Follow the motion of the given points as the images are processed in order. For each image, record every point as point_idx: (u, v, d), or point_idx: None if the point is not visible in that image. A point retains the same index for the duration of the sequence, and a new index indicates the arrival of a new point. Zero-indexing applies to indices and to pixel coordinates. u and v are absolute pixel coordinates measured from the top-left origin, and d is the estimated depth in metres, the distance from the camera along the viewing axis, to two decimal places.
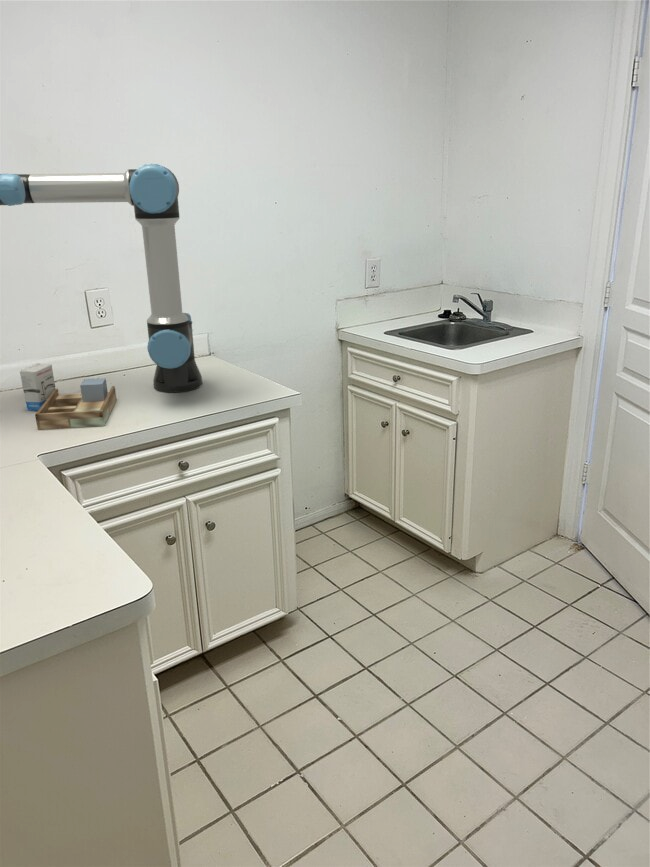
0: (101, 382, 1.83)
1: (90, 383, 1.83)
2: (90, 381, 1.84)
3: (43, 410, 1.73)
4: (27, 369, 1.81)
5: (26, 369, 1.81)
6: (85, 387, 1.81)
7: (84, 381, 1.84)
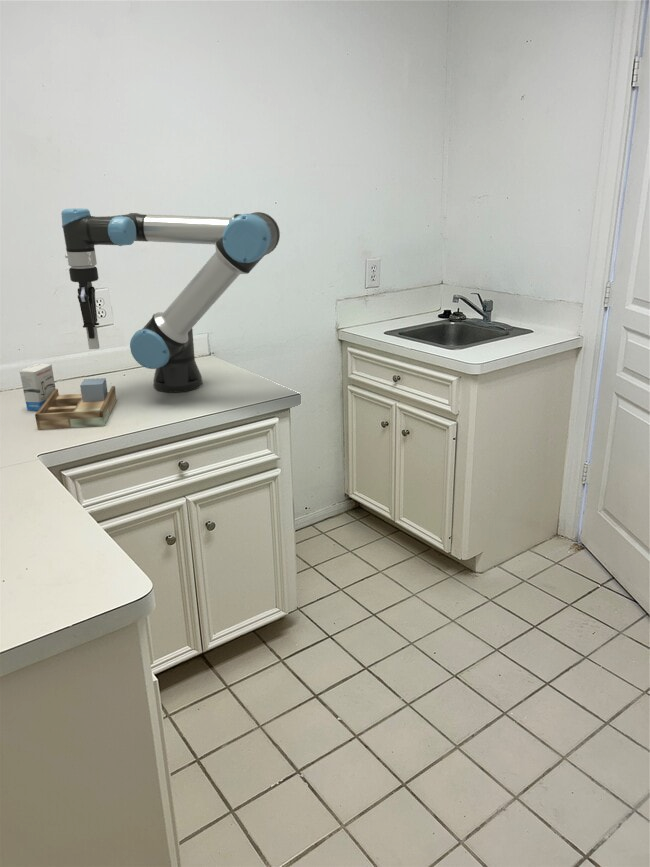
0: (101, 382, 1.83)
1: (90, 383, 1.83)
2: (90, 381, 1.84)
3: (43, 410, 1.73)
4: (27, 369, 1.81)
5: (26, 369, 1.81)
6: (85, 387, 1.81)
7: (84, 381, 1.84)
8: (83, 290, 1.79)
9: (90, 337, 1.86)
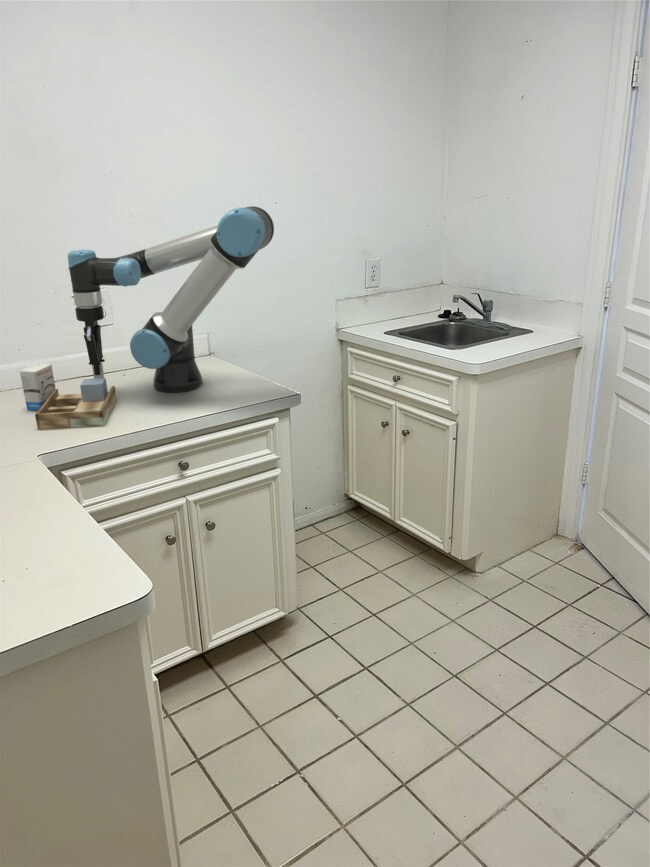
0: (101, 382, 1.83)
1: (90, 383, 1.83)
2: (90, 381, 1.84)
3: (43, 410, 1.73)
4: (27, 369, 1.81)
5: (26, 369, 1.81)
6: (85, 387, 1.81)
7: (84, 381, 1.84)
8: (89, 329, 1.83)
9: (96, 374, 1.90)
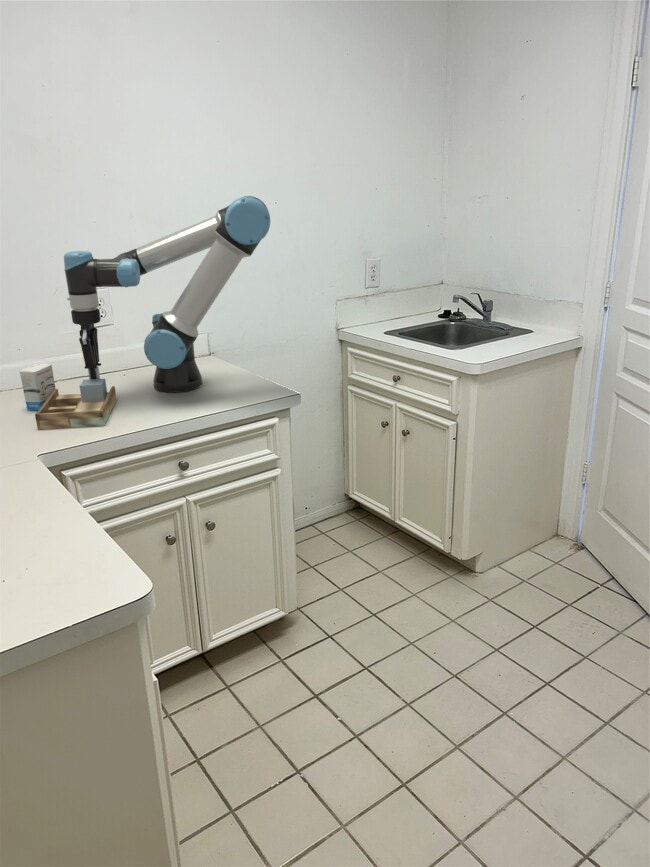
0: (101, 383, 1.82)
1: (90, 383, 1.82)
2: (89, 382, 1.83)
3: (43, 410, 1.73)
4: (27, 369, 1.81)
5: (26, 369, 1.81)
6: (84, 388, 1.81)
7: (84, 382, 1.84)
8: (85, 332, 1.79)
9: (92, 378, 1.86)
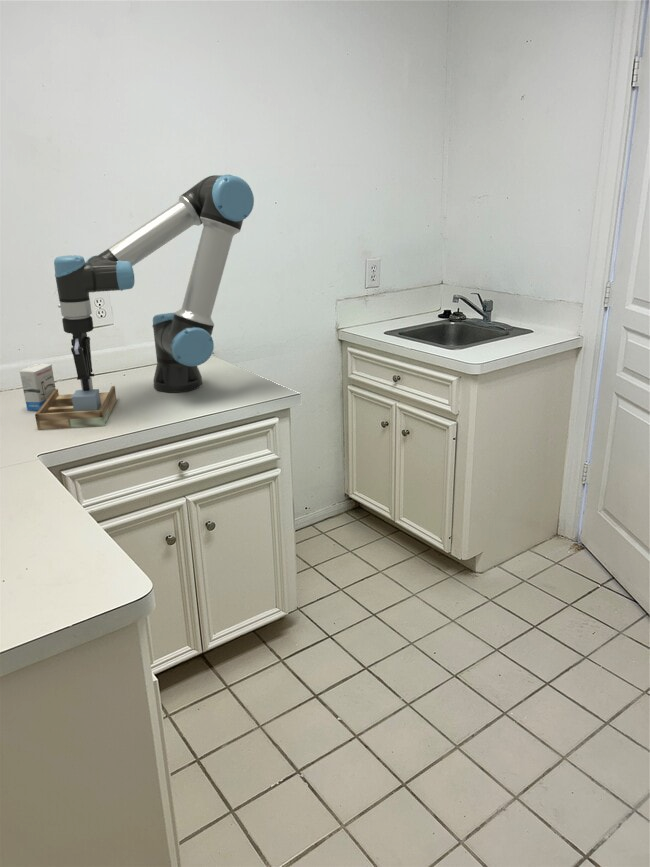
0: (94, 394, 1.73)
1: (83, 394, 1.73)
2: (82, 393, 1.74)
3: (43, 410, 1.73)
4: (27, 369, 1.81)
5: (26, 369, 1.81)
6: (77, 399, 1.72)
7: (76, 392, 1.74)
8: (77, 342, 1.68)
9: (84, 389, 1.76)
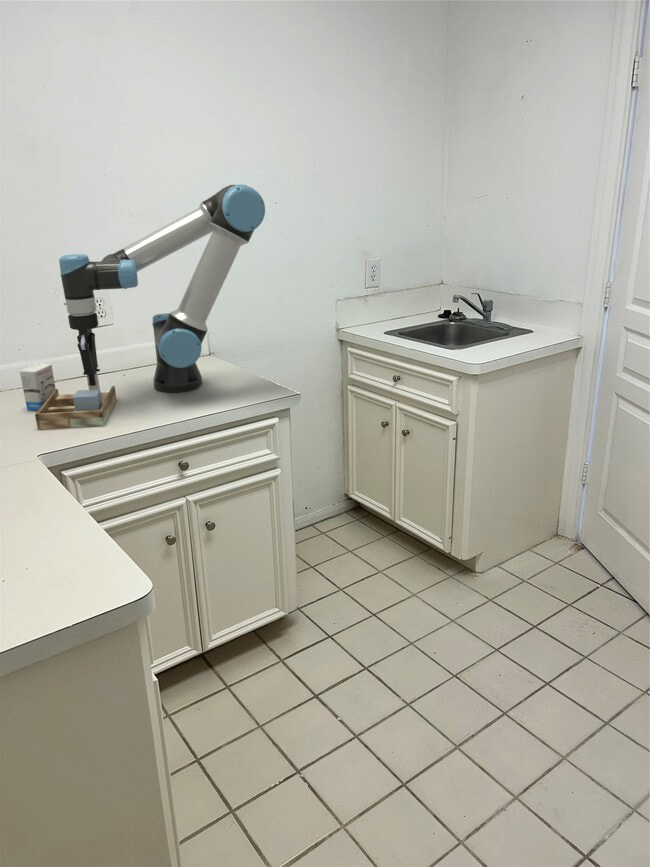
0: (95, 394, 1.73)
1: (84, 395, 1.73)
2: (84, 393, 1.74)
3: (43, 410, 1.73)
4: (27, 369, 1.81)
5: (26, 369, 1.81)
6: (78, 400, 1.71)
7: (77, 393, 1.74)
8: (83, 338, 1.74)
9: (91, 384, 1.81)
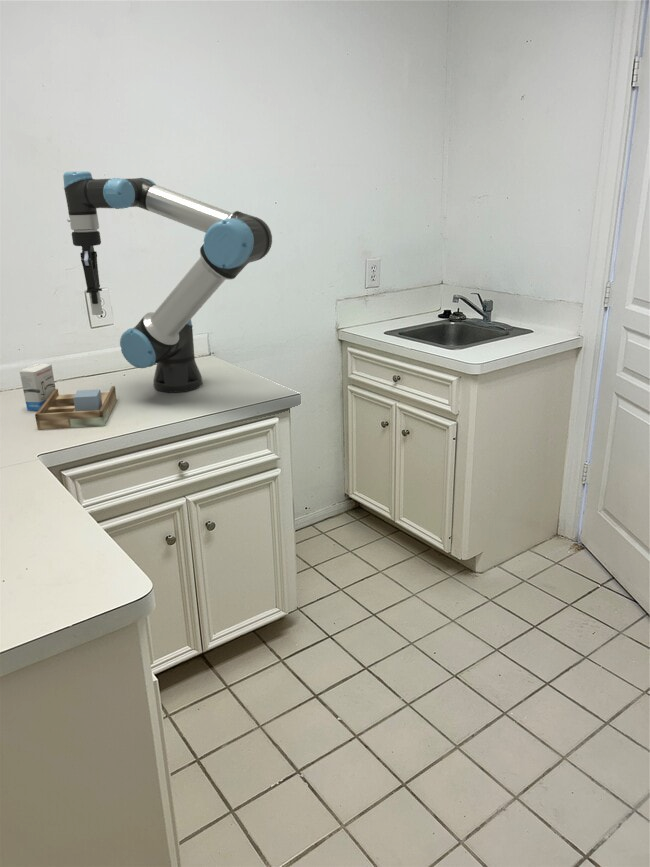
0: (95, 394, 1.73)
1: (84, 395, 1.73)
2: (84, 393, 1.74)
3: (43, 410, 1.73)
4: (27, 369, 1.81)
5: (26, 369, 1.81)
6: (78, 400, 1.71)
7: (77, 393, 1.74)
8: (86, 254, 1.79)
9: (93, 302, 1.86)
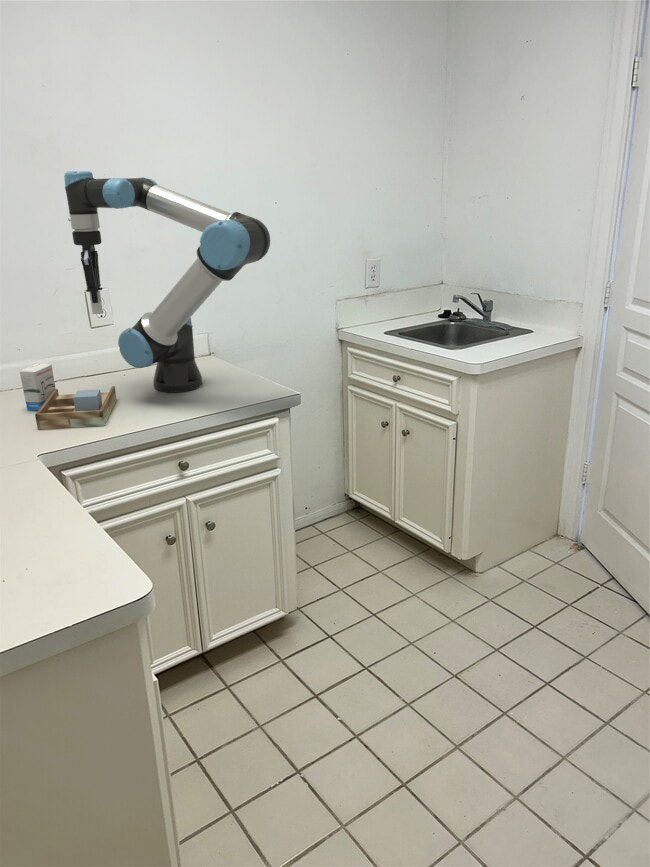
0: (95, 394, 1.73)
1: (84, 395, 1.73)
2: (84, 393, 1.74)
3: (43, 410, 1.73)
4: (27, 369, 1.81)
5: (26, 369, 1.81)
6: (78, 400, 1.71)
7: (77, 393, 1.74)
8: (86, 253, 1.79)
9: (93, 301, 1.87)
